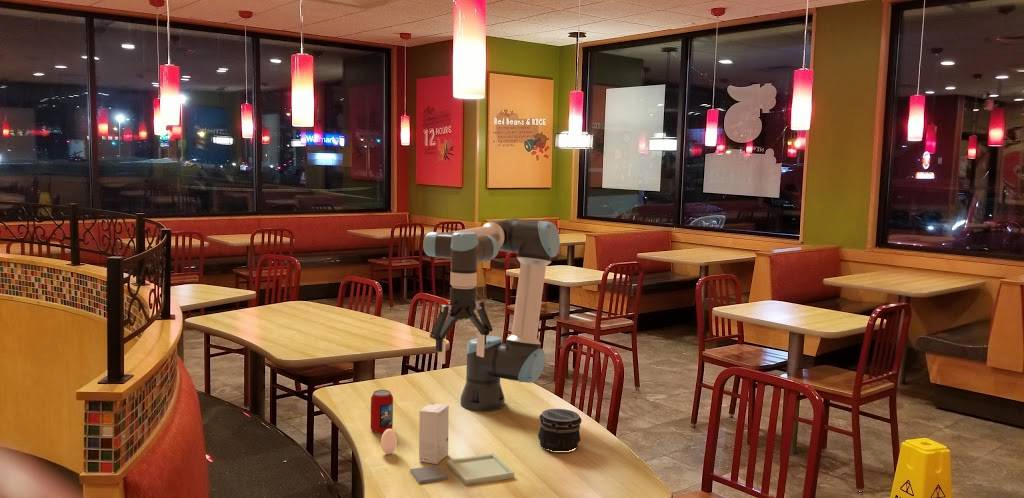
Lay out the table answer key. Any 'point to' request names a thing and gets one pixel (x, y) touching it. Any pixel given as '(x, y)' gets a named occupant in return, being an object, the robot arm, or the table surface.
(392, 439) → the egg
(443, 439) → the skincare box
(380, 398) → the beverage can
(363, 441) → the table surface
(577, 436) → the container
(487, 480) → the tray
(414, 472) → the pad
